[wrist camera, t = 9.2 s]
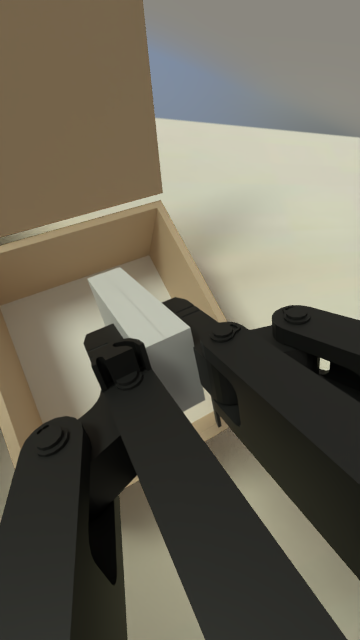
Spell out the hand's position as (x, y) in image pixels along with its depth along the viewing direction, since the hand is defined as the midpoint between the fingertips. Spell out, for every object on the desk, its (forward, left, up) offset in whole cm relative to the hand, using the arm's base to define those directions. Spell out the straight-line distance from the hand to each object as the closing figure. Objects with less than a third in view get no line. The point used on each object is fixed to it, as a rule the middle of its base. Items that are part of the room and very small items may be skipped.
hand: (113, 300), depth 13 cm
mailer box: (0, +1, -15) cm, 15 cm away
